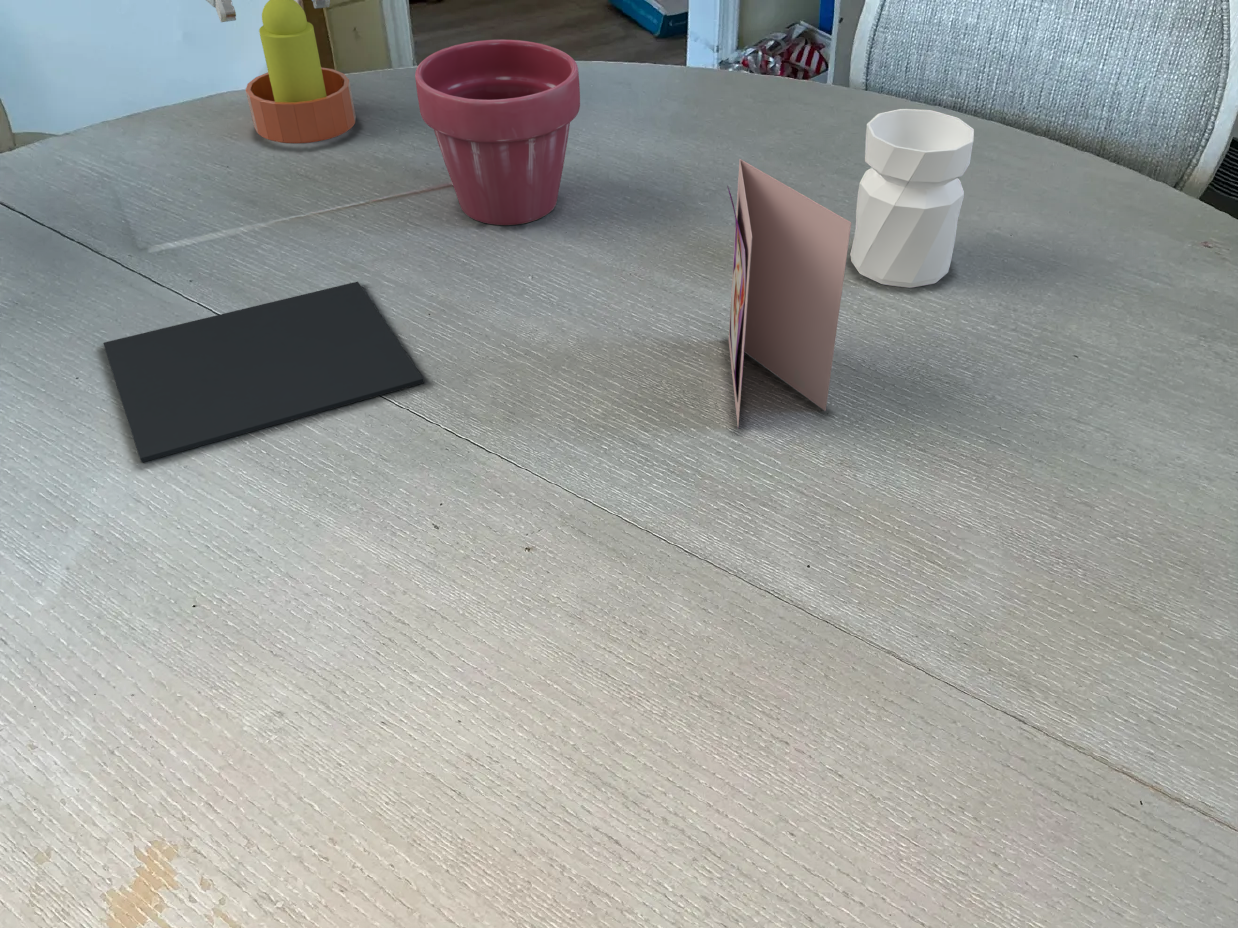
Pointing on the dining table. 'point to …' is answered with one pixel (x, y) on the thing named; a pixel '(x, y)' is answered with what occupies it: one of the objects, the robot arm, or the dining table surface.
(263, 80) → the orange round bowl
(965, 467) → the dining table surface
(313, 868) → the dining table surface
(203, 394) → the mat
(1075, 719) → the dining table surface
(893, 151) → the vase
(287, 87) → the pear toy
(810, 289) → the greeting card
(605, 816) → the dining table surface
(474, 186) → the flower pot
